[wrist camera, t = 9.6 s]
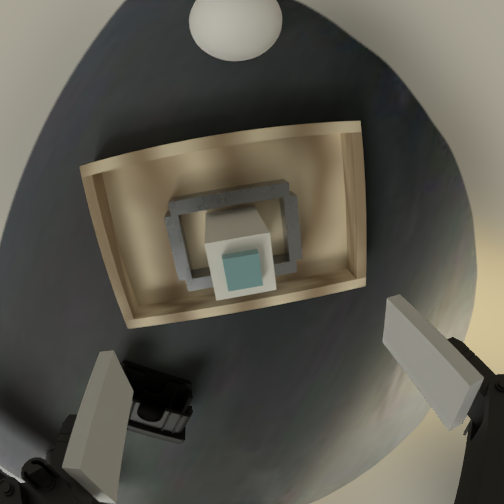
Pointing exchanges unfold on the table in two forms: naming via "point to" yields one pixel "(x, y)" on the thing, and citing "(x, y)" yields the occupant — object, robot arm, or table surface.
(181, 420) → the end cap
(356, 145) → the birch box
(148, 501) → the table surface
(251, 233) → the white block teal patch
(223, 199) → the grey rectangular frame
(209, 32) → the lightbulb
